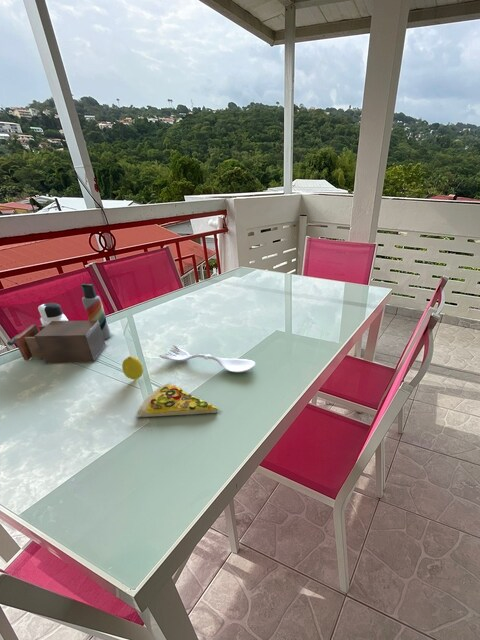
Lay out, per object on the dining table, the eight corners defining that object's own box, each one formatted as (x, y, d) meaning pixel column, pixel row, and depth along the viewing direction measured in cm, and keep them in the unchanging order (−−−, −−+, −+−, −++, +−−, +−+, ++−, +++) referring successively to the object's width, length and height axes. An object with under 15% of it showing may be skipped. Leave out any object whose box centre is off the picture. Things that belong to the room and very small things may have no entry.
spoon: (174, 352, 118) (172, 343, 116) (259, 365, 113) (258, 356, 111) (160, 363, 111) (158, 354, 109) (250, 378, 106) (249, 369, 104)
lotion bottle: (91, 338, 124) (73, 284, 113) (103, 333, 129) (86, 280, 117) (103, 341, 123) (86, 286, 111) (114, 335, 127) (99, 282, 116)
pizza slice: (164, 386, 100) (162, 378, 98) (229, 397, 97) (228, 389, 95) (132, 416, 87) (130, 407, 85) (205, 430, 84) (204, 421, 82)
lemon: (149, 378, 103) (143, 355, 98) (133, 386, 99) (127, 362, 94) (137, 373, 105) (131, 350, 101) (122, 380, 101) (115, 357, 97)
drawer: (9, 361, 106) (-3, 338, 101) (27, 345, 115) (17, 324, 110) (70, 359, 108) (61, 337, 104) (82, 344, 118) (75, 323, 113)
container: (71, 333, 127) (59, 299, 120) (75, 340, 122) (63, 305, 115) (47, 337, 123) (33, 303, 115) (51, 345, 118) (36, 309, 111)
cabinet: (45, 363, 107) (34, 336, 102) (62, 346, 117) (52, 321, 112) (94, 362, 110) (85, 335, 104) (106, 345, 120) (98, 320, 114)
